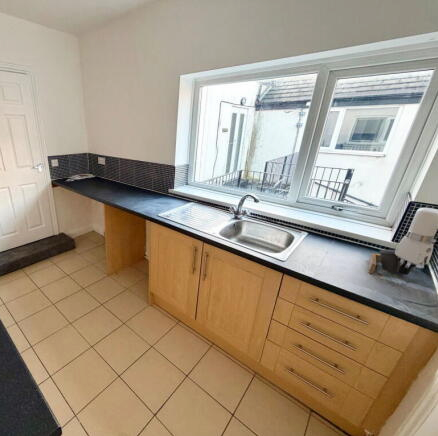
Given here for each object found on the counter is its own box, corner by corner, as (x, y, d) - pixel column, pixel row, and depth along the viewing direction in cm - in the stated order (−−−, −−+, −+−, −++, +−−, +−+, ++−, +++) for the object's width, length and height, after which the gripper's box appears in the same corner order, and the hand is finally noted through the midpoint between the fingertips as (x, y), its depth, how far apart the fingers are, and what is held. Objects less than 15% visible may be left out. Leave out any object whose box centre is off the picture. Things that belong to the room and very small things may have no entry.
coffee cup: (405, 271, 113) (405, 250, 113) (400, 274, 109) (400, 253, 108) (381, 267, 120) (381, 247, 120) (376, 271, 116) (376, 250, 115)
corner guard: (410, 271, 116) (414, 262, 114) (415, 285, 106) (419, 276, 104) (368, 260, 125) (371, 252, 124) (368, 272, 115) (372, 263, 113)
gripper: (449, 244, 96) (429, 283, 103) (407, 229, 110) (392, 264, 117) (432, 245, 95) (414, 284, 102) (392, 230, 109) (378, 265, 116)
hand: (402, 273), depth 109 cm, fingers closed
